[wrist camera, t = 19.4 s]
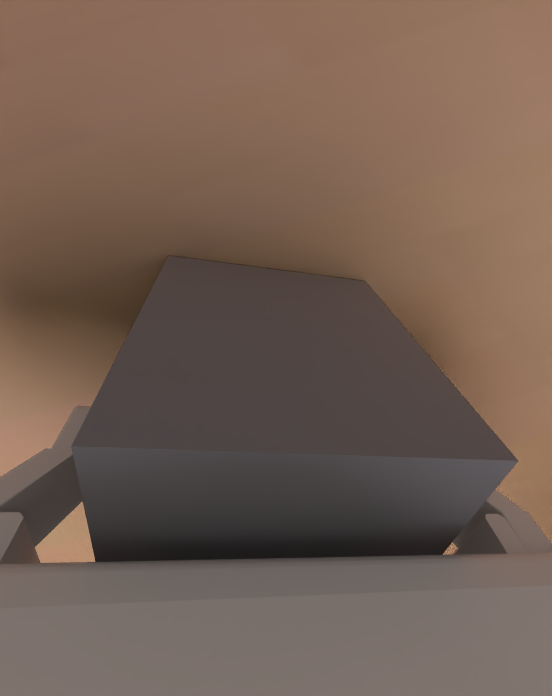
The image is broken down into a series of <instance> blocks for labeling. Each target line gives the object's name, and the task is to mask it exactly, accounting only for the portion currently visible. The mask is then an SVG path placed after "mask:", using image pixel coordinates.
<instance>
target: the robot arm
mask: <svg viewBox="0 0 552 696" xmlns="http://www.w3.org/2000/svg"><path fill="white" fill-rule="evenodd" d="M90 408H91V407H90V406H79V405H78V406H77V407H76V408H75V409H74V410H73V412H72V413H71V415H70V417H69V419H68V420H67V422H66V424H65V426H64V427H63V429H62V431H61V433H60V434H59V436H58V438H57V440H56V441H55V443H54V445H53V446H52V448H51V449H44V450H42V451H41V452H39V453H38V454H36V455H34V456H33V457H31V458H30V459H28V460H27V461H25V462H23V463H22V464H20V465H19V466H17V467H15V468H14V469H12V470H11V471H9V472H8V473H6V474H4V475H3V476H1V477H0V696H552V544H551V543H550V541H549V540H548V539H547V537H546V536H545V535H544V533H543V532H542V531H541V529H540V528H539V527H538V525H537V524H536V523H535V521H534V520H533V519H532V518H531V516H530V515H529V514H528V513H527V512H526V511H524V510H523V509H522V508H520V507H519V506H517V505H516V504H515V503H513V502H512V501H510V500H509V499H508V498H506V497H505V496H503V495H502V494H501V493H499V492H498V491H496V490H494V491H493V493H492V494H491V495H490V496H489V497H488V499H487V500H486V501H485V502H484V504H483V505H482V506H481V507H480V509H479V510H478V511H477V512H476V513H475V515H474V516H473V517H472V518H471V520H470V521H469V522H468V523H467V525H466V526H465V527H464V528H463V529H462V531H461V532H460V533H459V534H458V536H457V537H456V538H455V539H454V540H453V543H454V544H455V545H456V546H457V547H458V548H457V549H456V550H455V552H454V553H453V554H452V555H408V556H360V557H312V558H265V559H217V560H168V561H119V562H70V563H40V561H39V558H38V555H37V552H36V550H35V546H36V545H37V544H39V543H40V542H41V541H42V540H43V539H44V538H45V537H46V536H47V535H48V534H49V533H50V532H51V531H52V530H53V529H54V528H55V527H56V526H57V525H58V524H59V523H60V522H61V521H62V520H63V519H64V518H65V517H66V516H67V515H68V514H69V513H70V512H71V511H73V510H74V509H75V508H76V507H77V506H78V505H79V504H80V503H81V502H82V501H83V500H82V495H81V490H80V486H79V481H78V476H77V472H76V467H75V462H74V457H73V453H72V448H71V446H72V444H73V442H74V440H75V438H76V436H77V434H78V432H79V430H80V428H81V426H82V424H83V422H84V420H85V418H86V416H87V414H88V412H89V410H90Z"/></svg>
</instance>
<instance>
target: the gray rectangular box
mask: <svg viewBox="0 0 552 696" xmlns="http://www.w3.org/2000/svg"><path fill="white" fill-rule="evenodd" d="M71 448H72V453H73V457H74V462H75V467H76V472H77V476H78V481H79V486H80V490H81V495H82V500H83V504H84V509H85V514H86V519H87V523H88V528H89V533H90V537H91V542H92V547H93V552H94V556H95V561H96V562H119V561H168V560H217V559H265V558H312V557H360V556H408V555H442V554H443V553H444V552H445V550H446V549H447V548H448V547H449V545H450V544H451V543H452V542H453V540H454V539H455V538H456V537H457V536H458V534H459V533H460V532H461V531H462V529H463V528H464V527H465V526H466V525H467V523H468V522H469V521H470V520H471V518H472V517H473V516H474V515H475V513H476V512H477V511H478V510H479V509H480V507H481V506H482V505H483V504H484V502H485V501H486V500H487V499H488V497H489V496H490V495H491V494H492V493H493V491H494V490H495V489H496V488H497V486H498V485H499V484H500V483H501V482H502V480H503V479H504V478H505V477H506V475H507V474H508V473H509V472H510V470H511V469H512V468H513V467H514V466H515V464H516V463H517V462H518V460H517V459H516V458H515V456H514V455H513V454H512V453H511V452H510V451H509V449H508V448H507V447H506V446H505V445H504V444H503V442H502V441H501V440H500V439H499V438H498V436H497V435H496V434H495V433H494V432H493V431H492V429H491V428H490V427H489V426H488V425H487V424H486V422H485V421H484V420H483V419H482V418H481V417H480V415H479V414H478V413H477V412H476V411H475V409H474V408H473V407H472V406H471V405H470V404H469V402H468V401H467V400H466V399H465V398H464V397H463V395H462V394H461V393H460V392H459V391H458V390H457V388H456V387H455V386H454V385H453V384H452V382H451V381H450V380H449V379H448V378H447V377H446V375H445V374H444V373H443V372H442V371H441V370H440V368H439V367H438V366H437V365H436V364H435V363H434V361H433V360H432V359H431V358H430V357H429V355H428V354H427V353H426V352H425V351H424V350H423V348H422V347H421V346H420V345H419V344H418V343H417V341H416V340H415V339H414V338H413V337H412V336H411V334H410V333H409V332H408V331H407V330H406V328H405V327H404V326H403V325H402V324H401V323H400V321H399V320H398V319H397V318H396V317H395V316H394V314H393V313H392V312H391V311H390V310H389V309H388V307H387V306H386V305H385V304H384V303H383V301H382V300H381V299H380V298H379V297H378V296H377V294H376V293H375V292H374V291H373V290H372V289H371V287H370V286H369V285H368V284H367V283H366V282H365V281H361V280H353V279H345V278H338V277H330V276H322V275H314V274H307V273H299V272H291V271H284V270H276V269H268V268H261V267H253V266H245V265H238V264H230V263H222V262H215V261H207V260H199V259H192V258H184V257H176V256H169V255H168V257H167V259H166V261H165V263H164V265H163V267H162V269H161V271H160V273H159V275H158V277H157V279H156V281H155V283H154V285H153V287H152V289H151V291H150V293H149V295H148V297H147V299H146V300H145V302H144V304H143V306H142V308H141V310H140V312H139V314H138V316H137V318H136V320H135V322H134V324H133V326H132V328H131V330H130V332H129V334H128V336H127V338H126V340H125V342H124V344H123V346H122V348H121V350H120V351H119V353H118V355H117V357H116V359H115V361H114V363H113V365H112V367H111V369H110V371H109V373H108V375H107V377H106V379H105V381H104V383H103V385H102V387H101V389H100V391H99V393H98V395H97V397H96V399H95V400H94V402H93V404H92V406H91V408H90V410H89V412H88V414H87V416H86V418H85V420H84V422H83V424H82V426H81V428H80V430H79V432H78V434H77V436H76V438H75V440H74V442H73V444H72V446H71Z"/></svg>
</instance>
